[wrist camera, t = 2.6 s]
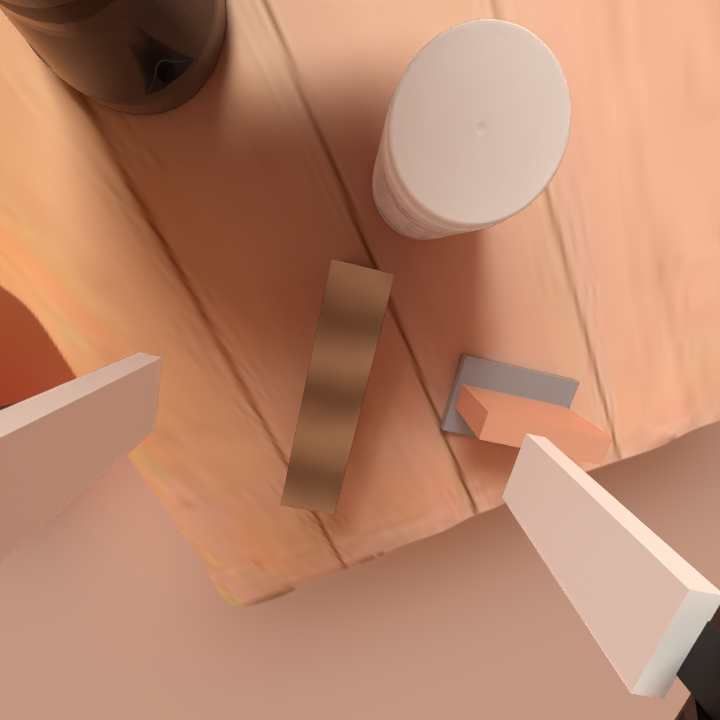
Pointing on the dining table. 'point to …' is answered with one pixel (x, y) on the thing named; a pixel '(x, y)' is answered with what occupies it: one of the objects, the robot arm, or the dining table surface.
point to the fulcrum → (520, 409)
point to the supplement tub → (471, 131)
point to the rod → (336, 384)
